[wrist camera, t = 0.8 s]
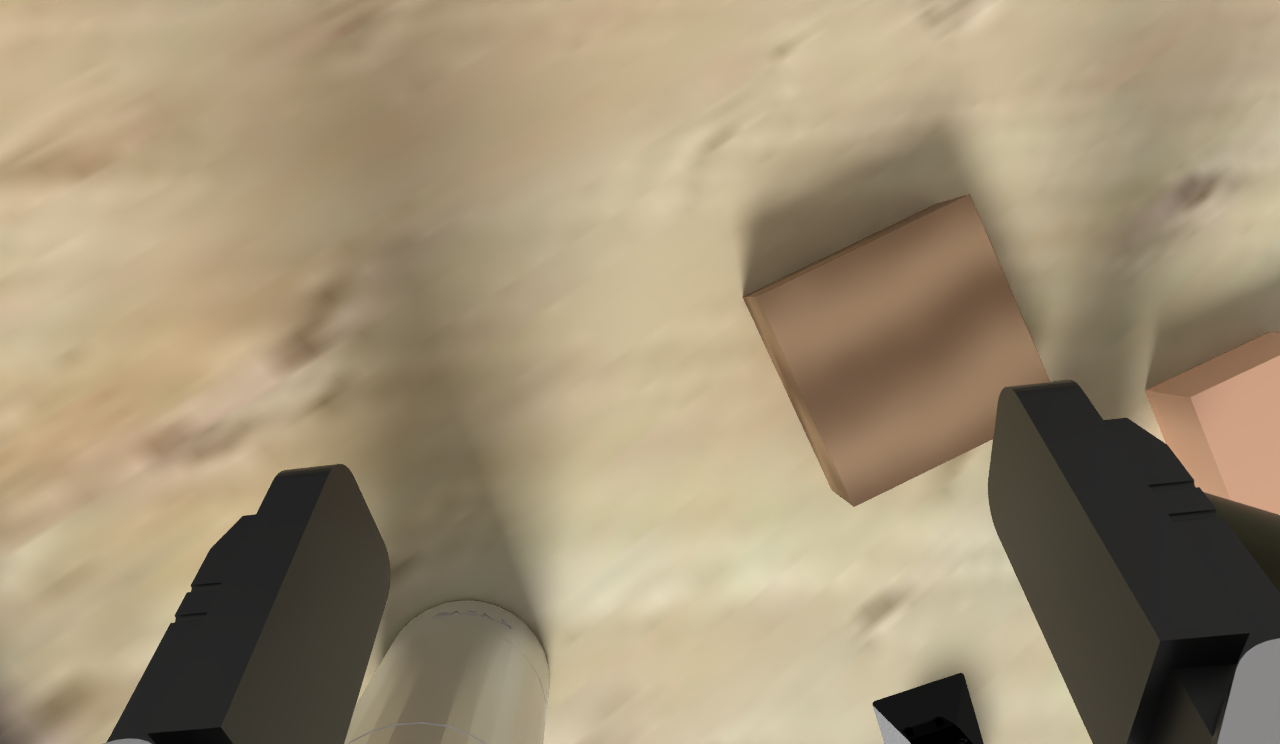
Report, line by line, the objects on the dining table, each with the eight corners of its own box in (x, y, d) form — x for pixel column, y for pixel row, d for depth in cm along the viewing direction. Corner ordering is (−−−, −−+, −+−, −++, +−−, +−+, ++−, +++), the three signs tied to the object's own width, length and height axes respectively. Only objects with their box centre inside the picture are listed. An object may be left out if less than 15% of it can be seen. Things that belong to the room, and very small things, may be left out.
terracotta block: (1313, 456, 51) (1375, 468, 47) (1191, 513, 50) (1242, 531, 46) (1265, 331, 50) (1324, 334, 46) (1141, 389, 50) (1190, 397, 46)
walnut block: (1022, 397, 49) (1060, 405, 45) (832, 490, 49) (854, 506, 45) (937, 203, 48) (969, 194, 44) (742, 297, 48) (757, 296, 44)
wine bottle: (1121, 461, 50) (1930, 696, 20) (1100, 558, 50) (1863, 933, 20) (1026, 445, 49) (1706, 660, 19) (1006, 543, 50) (1642, 902, 20)
